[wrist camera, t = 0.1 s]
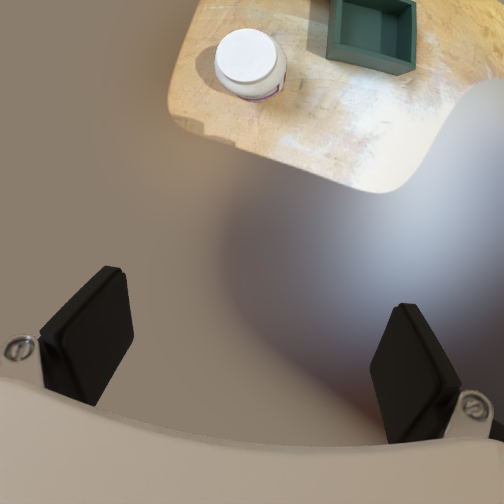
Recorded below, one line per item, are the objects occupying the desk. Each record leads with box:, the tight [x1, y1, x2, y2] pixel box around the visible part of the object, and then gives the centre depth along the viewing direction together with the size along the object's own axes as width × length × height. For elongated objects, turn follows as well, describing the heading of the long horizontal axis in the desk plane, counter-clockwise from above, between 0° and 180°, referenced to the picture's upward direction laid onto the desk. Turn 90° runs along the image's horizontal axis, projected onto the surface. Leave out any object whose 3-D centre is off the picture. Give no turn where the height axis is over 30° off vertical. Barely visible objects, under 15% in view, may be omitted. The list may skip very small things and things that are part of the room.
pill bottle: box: [214, 29, 287, 102], centre depth 21 cm, size 5×5×10 cm
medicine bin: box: [326, 0, 417, 76], centre depth 20 cm, size 7×7×4 cm
